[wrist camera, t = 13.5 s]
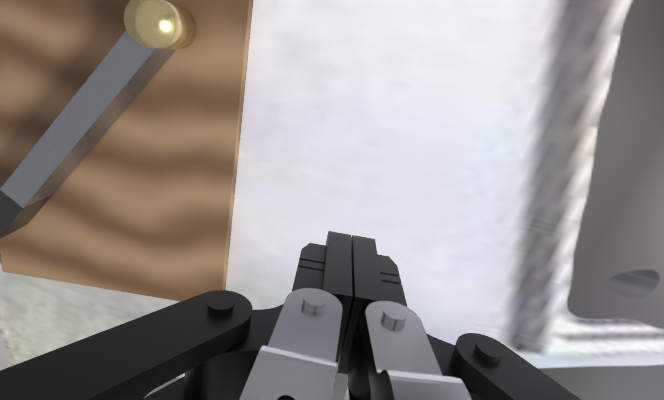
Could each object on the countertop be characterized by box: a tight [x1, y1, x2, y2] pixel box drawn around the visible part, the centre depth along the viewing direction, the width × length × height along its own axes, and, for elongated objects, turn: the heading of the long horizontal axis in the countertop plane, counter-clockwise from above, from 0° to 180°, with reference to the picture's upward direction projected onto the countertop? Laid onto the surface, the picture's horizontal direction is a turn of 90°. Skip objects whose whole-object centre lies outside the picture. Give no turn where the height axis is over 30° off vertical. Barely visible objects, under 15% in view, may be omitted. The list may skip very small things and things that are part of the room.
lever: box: [0, 0, 196, 239], centre depth 35 cm, size 28×4×5 cm, turn 133°
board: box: [0, 0, 253, 301], centre depth 39 cm, size 32×24×2 cm
